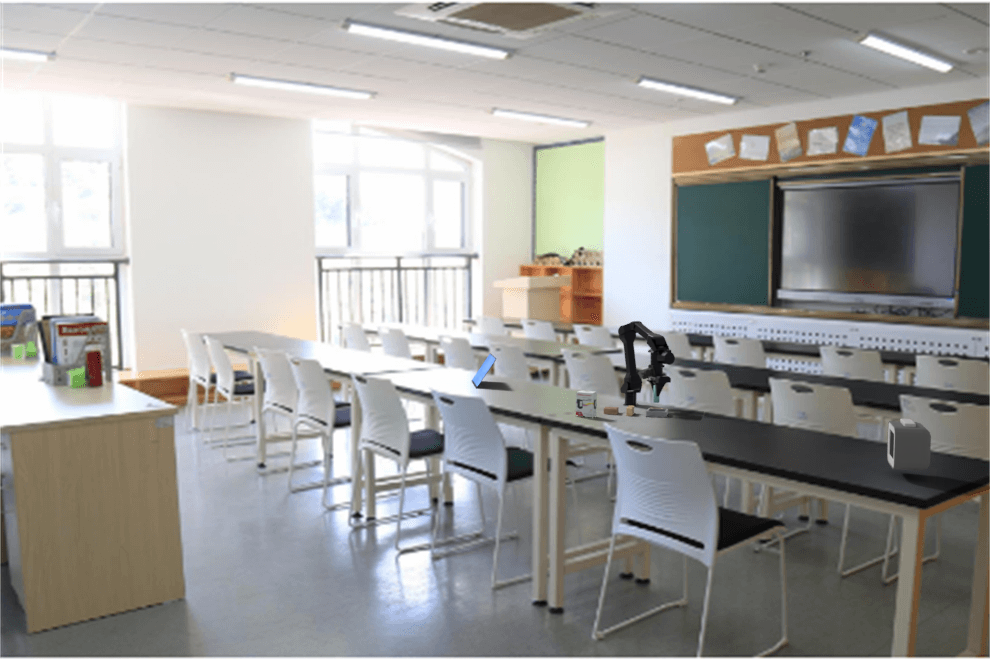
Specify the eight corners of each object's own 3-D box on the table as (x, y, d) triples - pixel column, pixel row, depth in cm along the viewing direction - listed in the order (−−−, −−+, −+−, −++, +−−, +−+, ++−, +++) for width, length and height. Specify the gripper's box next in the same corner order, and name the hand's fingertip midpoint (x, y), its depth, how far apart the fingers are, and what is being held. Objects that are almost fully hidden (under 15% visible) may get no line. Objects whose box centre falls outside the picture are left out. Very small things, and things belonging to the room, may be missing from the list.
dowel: (652, 401, 409) (652, 385, 408) (657, 401, 410) (658, 384, 409) (654, 402, 406) (655, 385, 406) (660, 402, 407) (660, 385, 406)
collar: (650, 410, 412) (650, 407, 412) (663, 411, 410) (663, 408, 410) (648, 412, 406) (648, 409, 406) (661, 413, 405) (661, 410, 404)
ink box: (575, 417, 394) (575, 391, 393) (579, 415, 399) (579, 390, 398) (592, 418, 390) (593, 392, 389) (596, 417, 395) (597, 391, 394)
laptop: (436, 385, 507) (435, 353, 506) (490, 384, 511) (490, 353, 509) (438, 392, 477) (438, 359, 476) (496, 391, 481) (496, 358, 480)
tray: (648, 413, 404) (648, 408, 404) (668, 414, 402) (668, 408, 402) (646, 416, 396) (646, 411, 396) (666, 417, 393) (666, 412, 393)
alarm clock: (886, 460, 304) (888, 416, 303) (922, 462, 301) (923, 417, 300) (893, 470, 289) (895, 424, 288) (931, 473, 285) (933, 426, 284)
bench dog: (628, 413, 406) (628, 405, 406) (634, 413, 405) (634, 405, 405) (626, 415, 398) (626, 408, 398) (631, 416, 398) (631, 408, 397)
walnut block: (605, 412, 408) (605, 406, 408) (618, 413, 407) (618, 407, 406) (603, 414, 403) (603, 408, 402) (616, 415, 401) (616, 409, 401)
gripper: (632, 361, 414) (632, 393, 415) (649, 365, 396) (648, 399, 397) (654, 360, 416) (654, 392, 417) (671, 364, 398) (671, 398, 399)
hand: (656, 395), depth 408 cm, fingers closed on dowel, 3 cm apart
